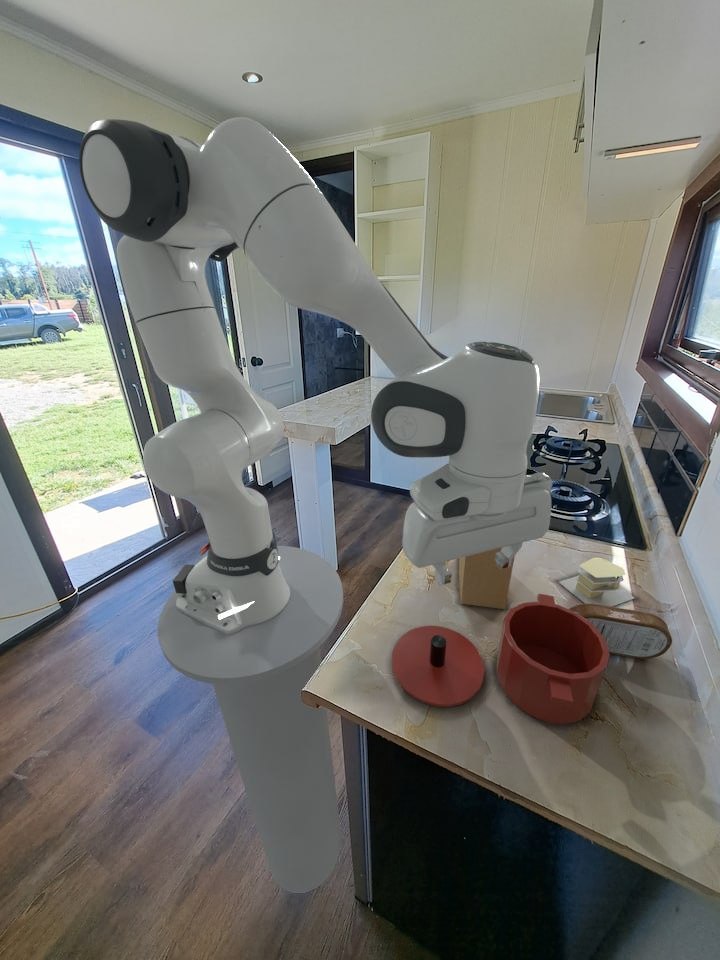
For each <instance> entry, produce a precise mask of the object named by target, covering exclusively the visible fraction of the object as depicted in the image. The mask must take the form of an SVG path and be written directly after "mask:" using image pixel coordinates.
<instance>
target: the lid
mask: <svg viewBox="0 0 720 960" xmlns="http://www.w3.org/2000/svg"><path fill="white" fill-rule="evenodd" d="M391 667H392V671H393V674H394V677H395V679H396V681H397V682H398V684H399V685H400V686H401V687H402V689H403V690H404V691H405V693H407V694H409V696H411V697H413V698H414V699H416V700H418V701H419V702H422V703H424V704H427V705H430V706H434V707H442V708H445V707H446V708H447V707H455V706H459V705H463V704H464V703H466V702H468V701H470V700H471V699H473V698H474V697H475V696H476V695H477V693H478V692H479V691H480V689H481V687H482V685H483V683H484V680H485V679H484V678H485V666H484V661H483V659H482V655H481V654H480V652H479V650H478V648H477V647H476V646H475V645H474V644H473V642H471V641H470V640H469V639H468V638H467V637H466V636H465V635H463V634H461V633H460V632H458V631H456V630H454V629H451V628H448V627H444V626H439V625H423V626H418V627H414V628H412V629H410V630H408V631H407V632H405V633H404V634H402V636H401V637H399V639H398V640H397V641H396V643H395V645H394V647H393V649H392V653H391Z"/></svg>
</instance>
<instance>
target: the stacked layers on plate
mask: <svg viewBox="0 0 720 960" xmlns="http://www.w3.org/2000/svg"><path fill="white" fill-rule="evenodd" d="M578 566H579V567H580V568H579V569H578V570H577V573H579V574H578V575H576V576H572V577H570V578H566V579H563V580H560V581H558V583H559V584H560V585H561V586H563V587H564V588H565V589H566V590H567V591H569V592H570V593H571V594H572V595H574V596H575V597H576V598H577V599H578V600H580V601H581V602H582V603H583V604H585V603H594V604H600V605H606V606H612V607H616V606H618V605H621V604H623V603H626V602H629V601H632V600H634V599H635V596H633V595H632V594H630V593H629V592H627V591H626V590H624V589H623V588H622V587H621V584H620V583H622V582H624V581H625V580H624V579H625V578H624V576H625V575H626V571H625V569H624V568H623V567H621V566H620V565H617V564H615V563H614V562H611V561H608V560H607V559H605V558H603V557H602V558H601V557H592V558H590V559H589V560H586V561H584V562H583V563H580V564H579V565H578Z"/></svg>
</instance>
